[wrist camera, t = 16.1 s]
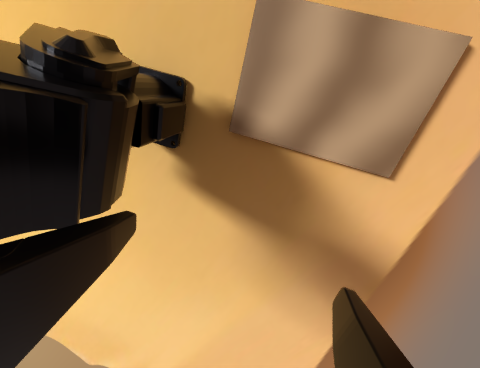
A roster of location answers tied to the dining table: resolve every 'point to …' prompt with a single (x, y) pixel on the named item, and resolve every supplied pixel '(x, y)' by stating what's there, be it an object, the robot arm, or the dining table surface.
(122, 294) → the dining table surface
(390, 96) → the oak pad
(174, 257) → the dining table surface
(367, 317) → the robot arm
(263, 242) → the dining table surface
